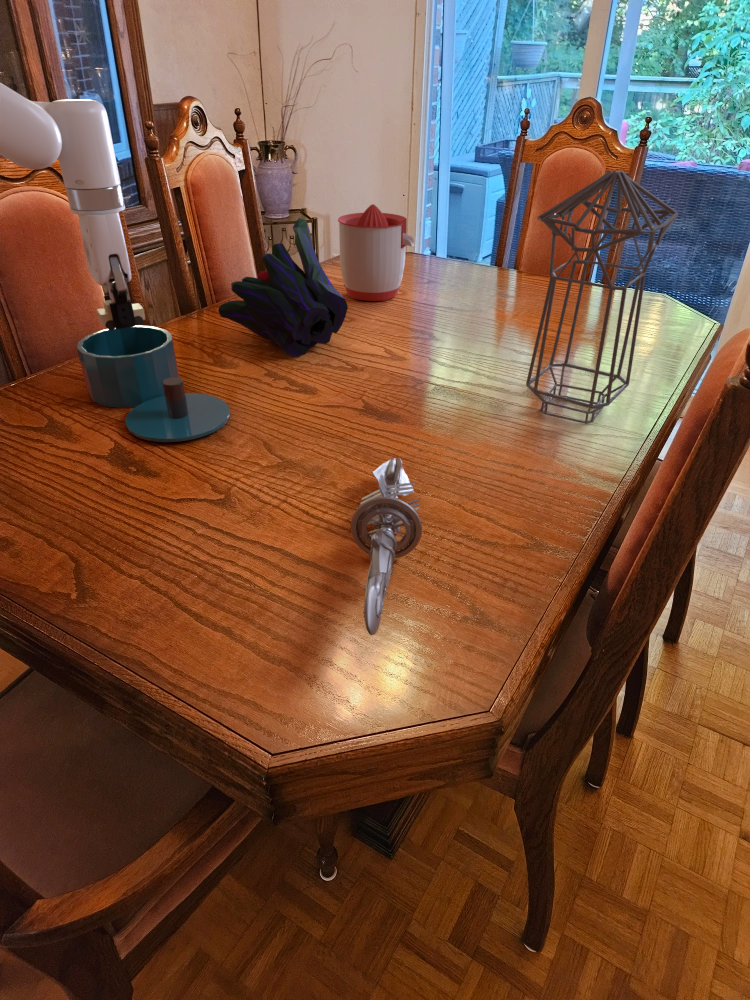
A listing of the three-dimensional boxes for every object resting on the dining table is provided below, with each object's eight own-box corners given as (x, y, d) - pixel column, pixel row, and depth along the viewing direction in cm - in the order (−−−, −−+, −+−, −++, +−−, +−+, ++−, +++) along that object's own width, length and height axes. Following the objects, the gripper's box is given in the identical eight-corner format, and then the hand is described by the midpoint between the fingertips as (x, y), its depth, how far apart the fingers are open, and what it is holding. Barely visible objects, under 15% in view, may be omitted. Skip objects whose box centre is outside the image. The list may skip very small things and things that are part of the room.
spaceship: (311, 607, 57) (397, 584, 55) (357, 446, 88) (414, 428, 86) (346, 674, 60) (428, 655, 58) (379, 497, 91) (433, 480, 89)
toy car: (104, 331, 104) (98, 307, 102) (99, 325, 106) (94, 301, 104) (146, 324, 107) (142, 301, 104) (141, 318, 109) (137, 295, 107)
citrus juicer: (407, 307, 150) (411, 213, 139) (332, 302, 152) (330, 209, 141) (416, 288, 163) (420, 199, 152) (347, 283, 165) (345, 196, 154)
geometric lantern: (634, 406, 109) (693, 169, 89) (602, 444, 98) (661, 184, 78) (543, 383, 116) (579, 159, 96) (504, 416, 105) (536, 172, 86)
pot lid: (124, 451, 95) (114, 409, 91) (129, 405, 107) (120, 366, 104) (234, 439, 98) (229, 397, 94) (227, 395, 111) (222, 357, 107)
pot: (85, 412, 105) (72, 361, 100) (93, 376, 117) (82, 329, 112) (180, 402, 108) (172, 353, 103) (179, 368, 120) (171, 322, 115)
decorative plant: (280, 404, 129) (216, 322, 144) (389, 334, 133) (315, 261, 148) (242, 328, 112) (173, 244, 127) (368, 250, 115) (287, 177, 130)
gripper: (59, 192, 100) (88, 312, 111) (78, 211, 88) (108, 344, 99) (111, 188, 103) (134, 305, 114) (135, 206, 92) (159, 335, 102)
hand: (122, 322), depth 106 cm, fingers closed on toy car, 3 cm apart
